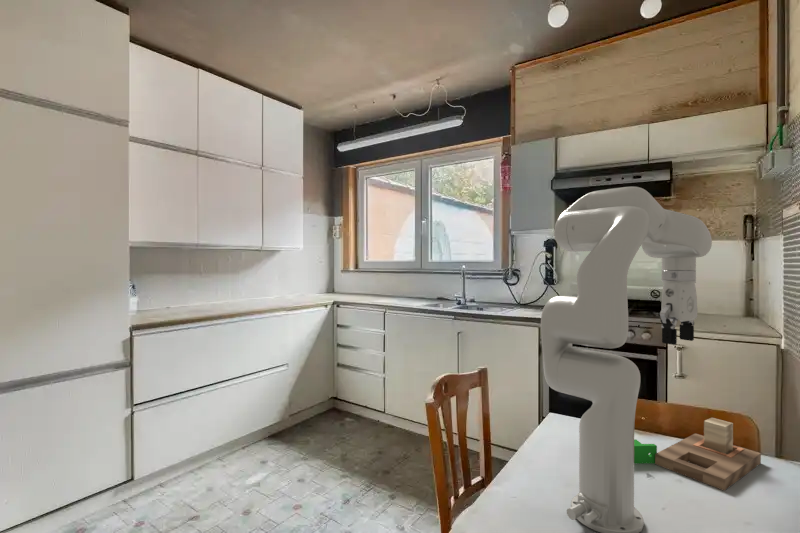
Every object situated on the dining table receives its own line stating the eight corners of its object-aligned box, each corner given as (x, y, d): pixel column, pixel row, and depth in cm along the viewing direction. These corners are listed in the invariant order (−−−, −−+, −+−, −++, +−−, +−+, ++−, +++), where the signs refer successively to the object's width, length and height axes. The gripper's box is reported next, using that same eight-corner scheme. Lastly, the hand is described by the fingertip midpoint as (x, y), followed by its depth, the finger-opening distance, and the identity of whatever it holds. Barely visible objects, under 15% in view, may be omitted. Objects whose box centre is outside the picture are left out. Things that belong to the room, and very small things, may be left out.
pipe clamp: (647, 457, 105) (647, 439, 105) (656, 464, 101) (657, 445, 101) (603, 457, 104) (604, 439, 104) (611, 464, 101) (611, 445, 101)
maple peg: (725, 463, 101) (725, 426, 101) (703, 456, 105) (704, 421, 104) (732, 458, 103) (733, 423, 103) (711, 451, 107) (711, 417, 107)
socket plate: (724, 490, 89) (724, 478, 89) (655, 464, 100) (655, 453, 100) (760, 463, 101) (760, 452, 101) (695, 442, 112) (695, 432, 112)
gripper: (679, 278, 101) (678, 348, 101) (709, 276, 110) (708, 340, 110) (646, 277, 107) (646, 343, 107) (677, 276, 116) (677, 336, 116)
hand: (678, 341), depth 109 cm, fingers open, 9 cm apart
